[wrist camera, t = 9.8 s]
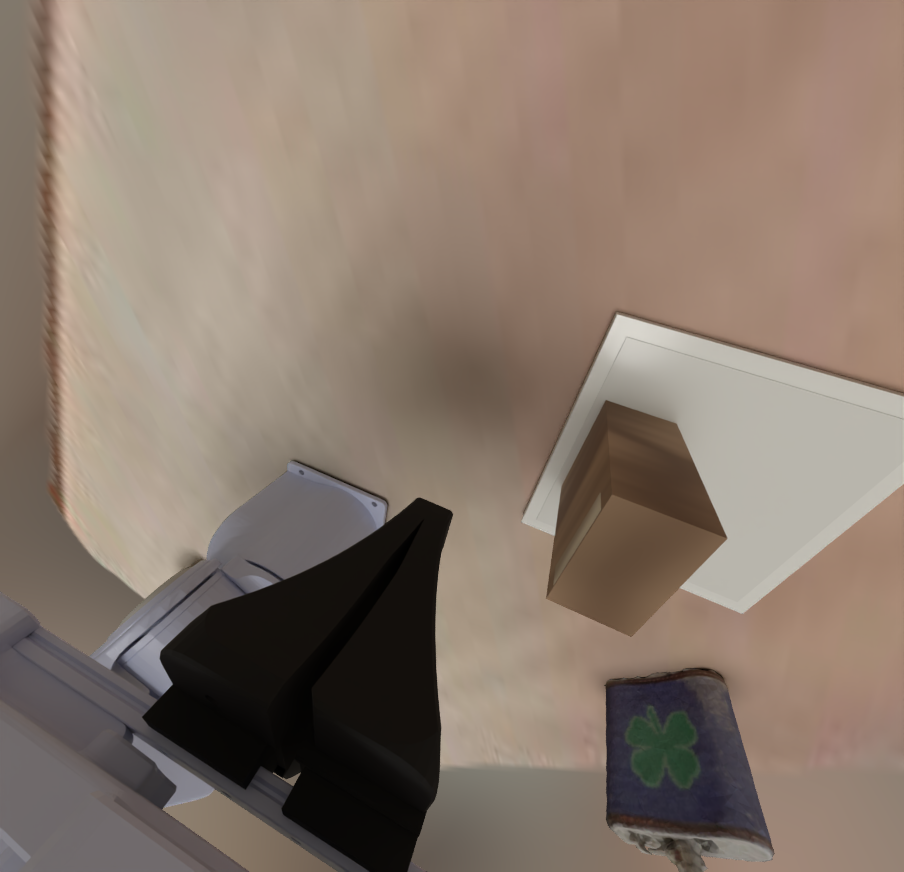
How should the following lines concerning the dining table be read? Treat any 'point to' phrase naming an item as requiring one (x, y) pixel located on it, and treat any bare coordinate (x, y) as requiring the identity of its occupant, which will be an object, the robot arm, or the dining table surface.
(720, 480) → the stone board
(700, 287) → the dining table surface
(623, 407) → the walnut block
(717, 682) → the flask
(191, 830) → the robot arm
